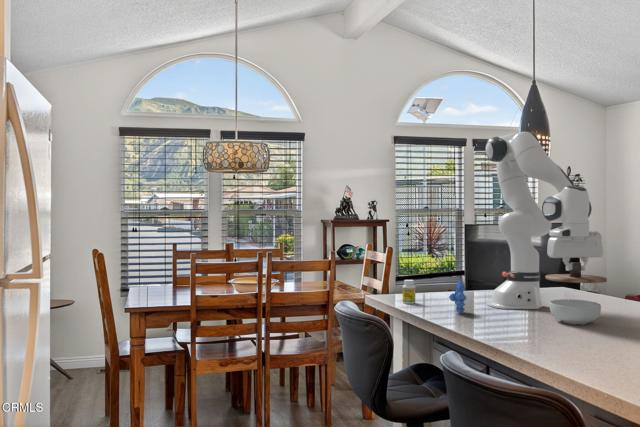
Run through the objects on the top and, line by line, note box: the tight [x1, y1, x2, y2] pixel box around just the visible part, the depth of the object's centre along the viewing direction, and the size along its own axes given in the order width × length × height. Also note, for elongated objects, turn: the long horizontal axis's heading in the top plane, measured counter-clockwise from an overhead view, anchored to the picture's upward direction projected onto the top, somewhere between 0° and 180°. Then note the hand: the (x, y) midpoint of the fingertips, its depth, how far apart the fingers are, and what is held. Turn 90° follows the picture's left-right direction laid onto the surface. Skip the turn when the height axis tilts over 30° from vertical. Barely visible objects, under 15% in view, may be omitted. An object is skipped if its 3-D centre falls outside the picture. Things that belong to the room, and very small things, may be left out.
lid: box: [544, 261, 608, 284], centre depth 212 cm, size 20×20×6 cm
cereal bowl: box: [548, 298, 602, 326], centre depth 212 cm, size 17×17×7 cm
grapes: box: [448, 281, 468, 315], centre depth 230 cm, size 12×7×12 cm, turn 169°
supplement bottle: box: [402, 279, 416, 305], centre depth 253 cm, size 5×5×10 cm
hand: (575, 270), depth 212 cm, fingers closed on lid, 4 cm apart
